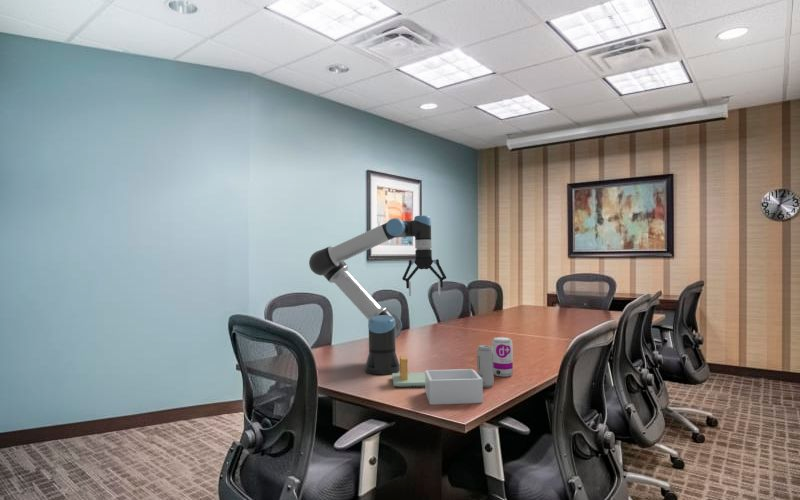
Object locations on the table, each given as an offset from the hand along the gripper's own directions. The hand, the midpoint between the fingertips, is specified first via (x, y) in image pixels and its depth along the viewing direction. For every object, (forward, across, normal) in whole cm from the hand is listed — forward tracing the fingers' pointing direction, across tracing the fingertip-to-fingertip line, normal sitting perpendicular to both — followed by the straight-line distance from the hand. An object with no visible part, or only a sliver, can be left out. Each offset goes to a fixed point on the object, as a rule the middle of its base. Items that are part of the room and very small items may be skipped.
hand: (424, 295), depth 209 cm
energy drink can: (+32, +20, -35) cm, 52 cm away
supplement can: (+32, +30, -19) cm, 49 cm away
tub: (+32, +6, -49) cm, 58 cm away
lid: (+32, -6, -29) cm, 44 cm away
